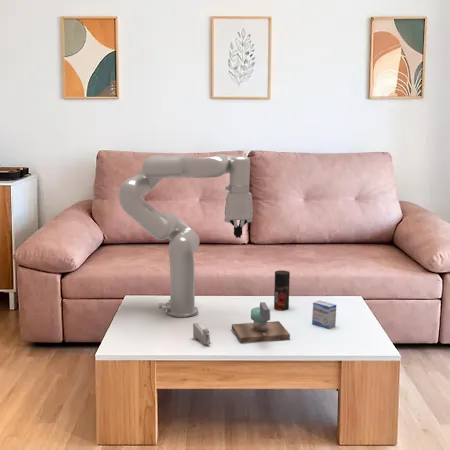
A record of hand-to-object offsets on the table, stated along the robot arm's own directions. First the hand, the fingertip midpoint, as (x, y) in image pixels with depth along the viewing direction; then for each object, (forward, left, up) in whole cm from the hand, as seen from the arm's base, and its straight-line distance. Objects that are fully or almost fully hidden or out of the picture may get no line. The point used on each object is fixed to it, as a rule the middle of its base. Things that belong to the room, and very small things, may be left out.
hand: (237, 236), depth 261 cm
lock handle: (+4, -24, -26) cm, 35 cm away
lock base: (+4, -20, -32) cm, 38 cm away
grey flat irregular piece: (-18, -24, -32) cm, 44 cm away
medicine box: (+30, -15, -32) cm, 46 cm away
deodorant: (+20, +7, -32) cm, 38 cm away
